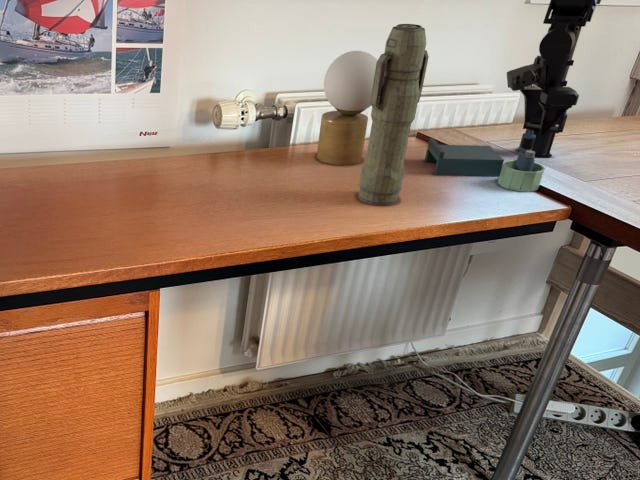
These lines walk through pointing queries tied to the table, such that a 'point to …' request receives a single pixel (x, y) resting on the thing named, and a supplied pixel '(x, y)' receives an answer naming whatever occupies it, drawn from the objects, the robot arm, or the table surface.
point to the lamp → (346, 108)
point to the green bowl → (520, 177)
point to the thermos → (393, 113)
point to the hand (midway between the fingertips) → (534, 128)
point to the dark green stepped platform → (464, 159)
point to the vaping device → (526, 153)
